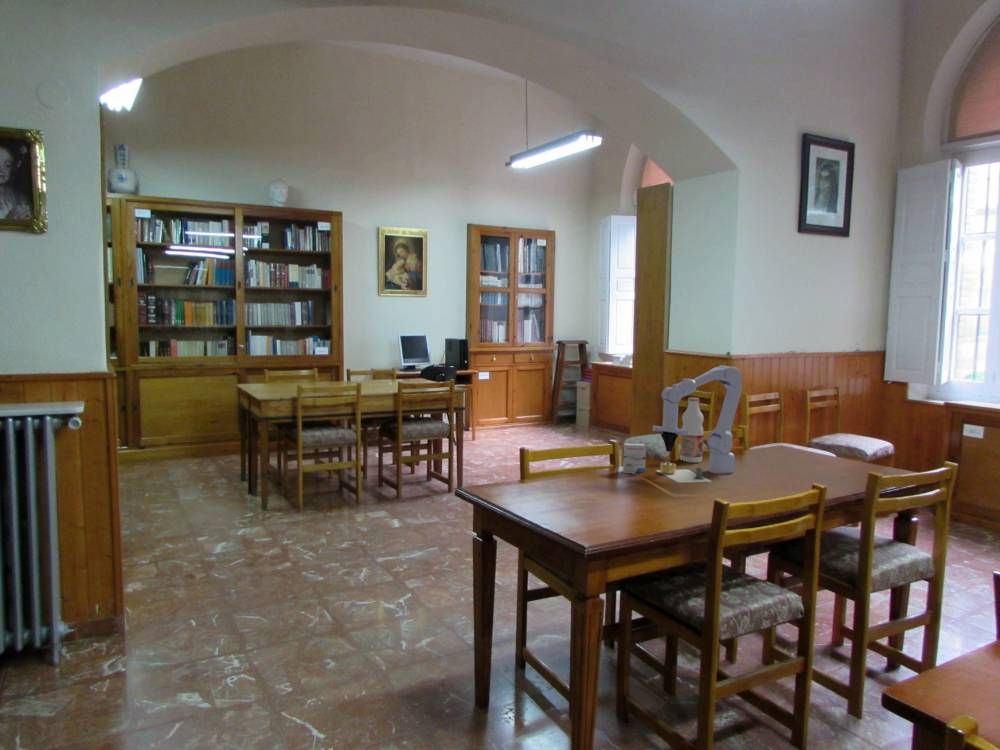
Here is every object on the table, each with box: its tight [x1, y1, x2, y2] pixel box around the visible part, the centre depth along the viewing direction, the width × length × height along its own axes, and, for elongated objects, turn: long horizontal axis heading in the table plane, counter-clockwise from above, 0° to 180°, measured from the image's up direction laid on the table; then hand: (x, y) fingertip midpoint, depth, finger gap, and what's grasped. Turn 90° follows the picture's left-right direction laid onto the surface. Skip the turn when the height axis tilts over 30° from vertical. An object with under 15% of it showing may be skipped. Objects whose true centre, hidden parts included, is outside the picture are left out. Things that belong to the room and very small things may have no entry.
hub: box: [662, 461, 674, 475], centre depth 266 cm, size 5×5×4 cm
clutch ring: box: [659, 462, 677, 473], centre depth 266 cm, size 6×6×3 cm
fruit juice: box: [679, 396, 704, 463], centre depth 294 cm, size 9×9×28 cm
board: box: [655, 467, 713, 483], centre depth 262 cm, size 14×20×5 cm
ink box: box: [622, 442, 647, 475], centre depth 269 cm, size 8×5×12 cm, turn 84°
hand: (669, 451), depth 265 cm, fingers closed
